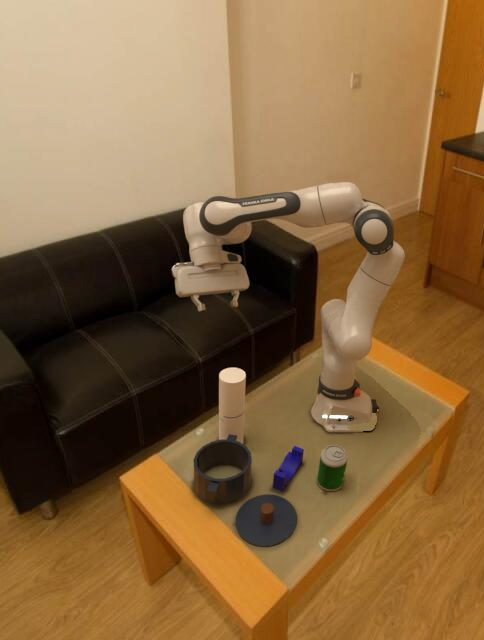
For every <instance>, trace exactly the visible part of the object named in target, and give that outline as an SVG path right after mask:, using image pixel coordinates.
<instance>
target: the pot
mask: <svg viewBox="0 0 484 640" xmlns="http://www.w3.org/2000/svg"><path fill="white" fill-rule="evenodd" d="M236 440H237V435H230V434H229V435H228V438H227V440H224V439H221V440H219V439H217V440H212V441H210V442H208V443H206V444H204V445H203V446H202V447H200V448H199V449H198V451H196V453H195V455H194V457H193V483H194V492H195V494H196V496H197V497H198V499H200V500H201V501H203V502H204V503H207V504H210V505H213V506H225V505H230V504H233V503H236V502H237V501H239V500H241V498H243V497H245V495H246V494H247V493H248V491H249V489H250V487H251V483H252V465H253V463H252V461H253V458H252V457H253V456H252V452H251V450H250V449H249V448H248V447H247V445H245V444H244V443H243V444H242V443H240V442H238V441H236ZM226 465H227V466H232V467H236V468H238V469H239V470H241V471H240V472H238V473H237V474H235V475H232V476H229V477H225V478H215V477H212V476H208V475H206V474H205V472H206V471H208V470H210V469H212V468H214V467H219V466H226Z"/></svg>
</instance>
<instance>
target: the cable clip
mask: <svg viewBox="0 0 484 640" xmlns="http://www.w3.org/2000/svg"><path fill="white" fill-rule="evenodd" d="M304 451H305V450H304V448H301V447H299V446H296V445H294V446H293V447H292V449H291V451H288V452H287V454H286V455H285V457H284V458H283V460H282V462H281V465H280V467H279V468H278V470H277V469H276V470H275V472H274V473H273V477H272V478H273V479H272V480H273V481H272V489H274V490H277V491H279V492H281V493H283V492H284V489H285V488H287V486H288V485H289V484H290V482H291V481H292V480H293V477H294V476H295V474H296V473H297V472H298V470H299V469H300V466H301V465H302V464H303V461H304V460H303V459H304Z"/></svg>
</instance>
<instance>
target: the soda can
mask: <svg viewBox="0 0 484 640" xmlns="http://www.w3.org/2000/svg"><path fill="white" fill-rule="evenodd" d="M348 457H349V455H348V452H347V450H345V449H344V447H342V446H340V445H338V444H330V445H328V446H325V447H324V448H323V449H321V452H320V458H319V465H318V471H317V479H316V482H317V485H318V486H319V487H320V488H321V489H322V490H324V491H326V492H336V491H338V490H340V489H341V488H342V487H343V485H344V481H345V476H346V470H347V465H348V460H349V458H348Z"/></svg>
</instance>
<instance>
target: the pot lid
mask: <svg viewBox="0 0 484 640" xmlns="http://www.w3.org/2000/svg"><path fill="white" fill-rule="evenodd" d="M297 523H298V515H297V511H296V508H295V506H294V505H293V504H292V503H291V502H290V501H289V500H288V499H286V498H285V497H282V496H280V495H277V494H269V493H267V494H260V495H257V496H253V497H251V498H249V499H248V500H246V501H245V502H244V503H243V504H242V505H241V506H240V508H239V509H238V510H237V513H236V515H235V528H236V531H237V533H238V535H239V536H240V538H241V539H242V540H244V541H245V542H246V543H248V544H250V545H252V546H256V547H261V548H267V547H274V546H277V545H280V544H282V543H284V542H285V541H286V540H287V539H289V538H290V537H291V536H292V535H293V533H294V532H295V530H296V527H297Z"/></svg>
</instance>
